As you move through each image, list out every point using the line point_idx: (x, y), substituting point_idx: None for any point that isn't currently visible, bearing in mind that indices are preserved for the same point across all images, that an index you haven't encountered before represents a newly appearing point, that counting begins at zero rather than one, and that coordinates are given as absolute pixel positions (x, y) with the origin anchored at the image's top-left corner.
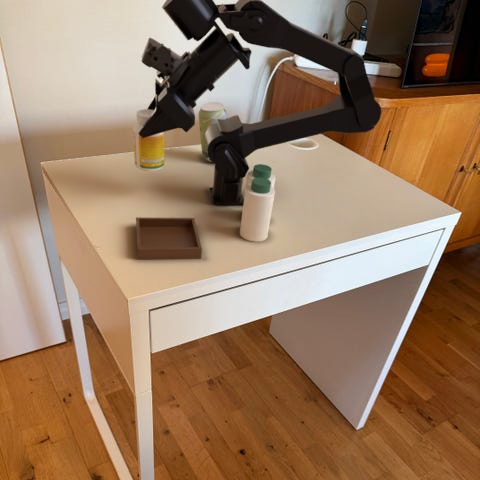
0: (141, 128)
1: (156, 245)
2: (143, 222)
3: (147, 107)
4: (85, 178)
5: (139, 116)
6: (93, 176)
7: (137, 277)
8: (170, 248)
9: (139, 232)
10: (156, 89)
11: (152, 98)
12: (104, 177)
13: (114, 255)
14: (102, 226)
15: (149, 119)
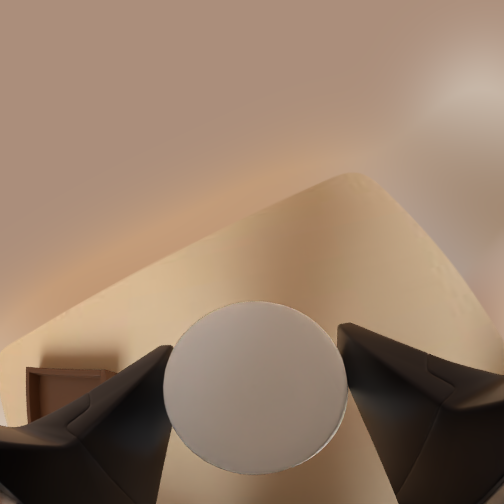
0: (159, 355)
1: (59, 403)
2: None
3: (403, 351)
4: (323, 238)
5: (190, 329)
6: (339, 250)
7: (13, 366)
8: (28, 417)
9: (60, 373)
10: (498, 416)
11: (470, 368)
12: (342, 273)
13: (48, 336)
14: (120, 310)
15: (86, 394)
